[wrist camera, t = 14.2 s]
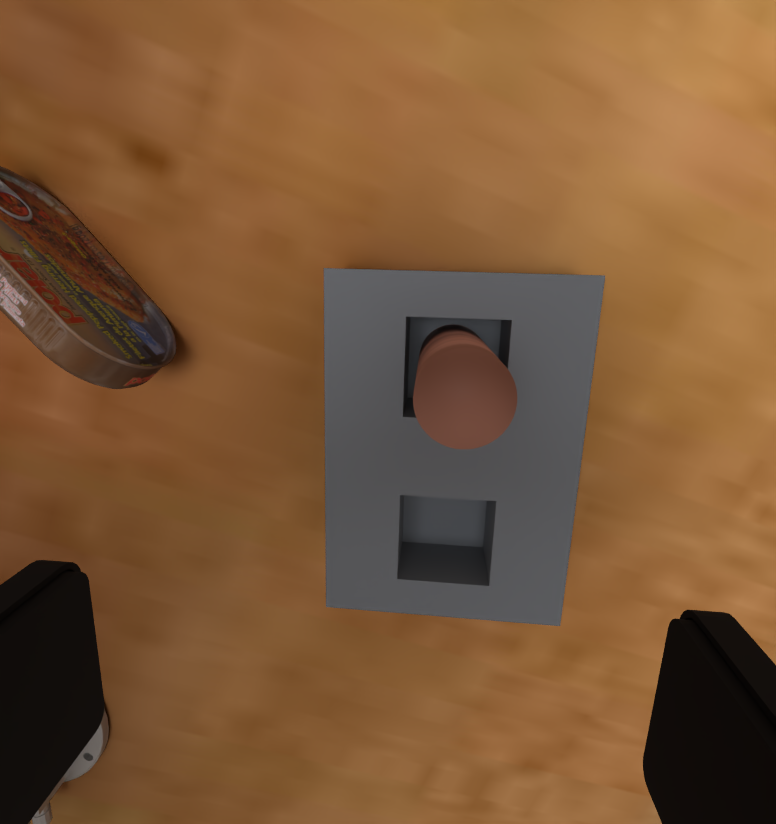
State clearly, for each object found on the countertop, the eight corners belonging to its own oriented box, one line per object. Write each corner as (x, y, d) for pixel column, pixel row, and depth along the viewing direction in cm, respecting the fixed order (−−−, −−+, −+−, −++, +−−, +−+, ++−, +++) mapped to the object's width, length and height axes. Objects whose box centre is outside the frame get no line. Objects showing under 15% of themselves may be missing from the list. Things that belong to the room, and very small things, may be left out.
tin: (198, 351, 35) (126, 375, 27) (167, 380, 36) (88, 412, 28) (33, 167, 33) (-100, 133, 25) (3, 202, 34) (-134, 180, 26)
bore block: (541, 570, 37) (560, 626, 31) (343, 555, 38) (326, 606, 32) (574, 274, 31) (605, 275, 26) (344, 268, 33) (323, 268, 27)
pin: (482, 391, 32) (511, 452, 21) (417, 387, 33) (410, 445, 21) (488, 326, 31) (523, 351, 20) (421, 322, 32) (416, 345, 20)
